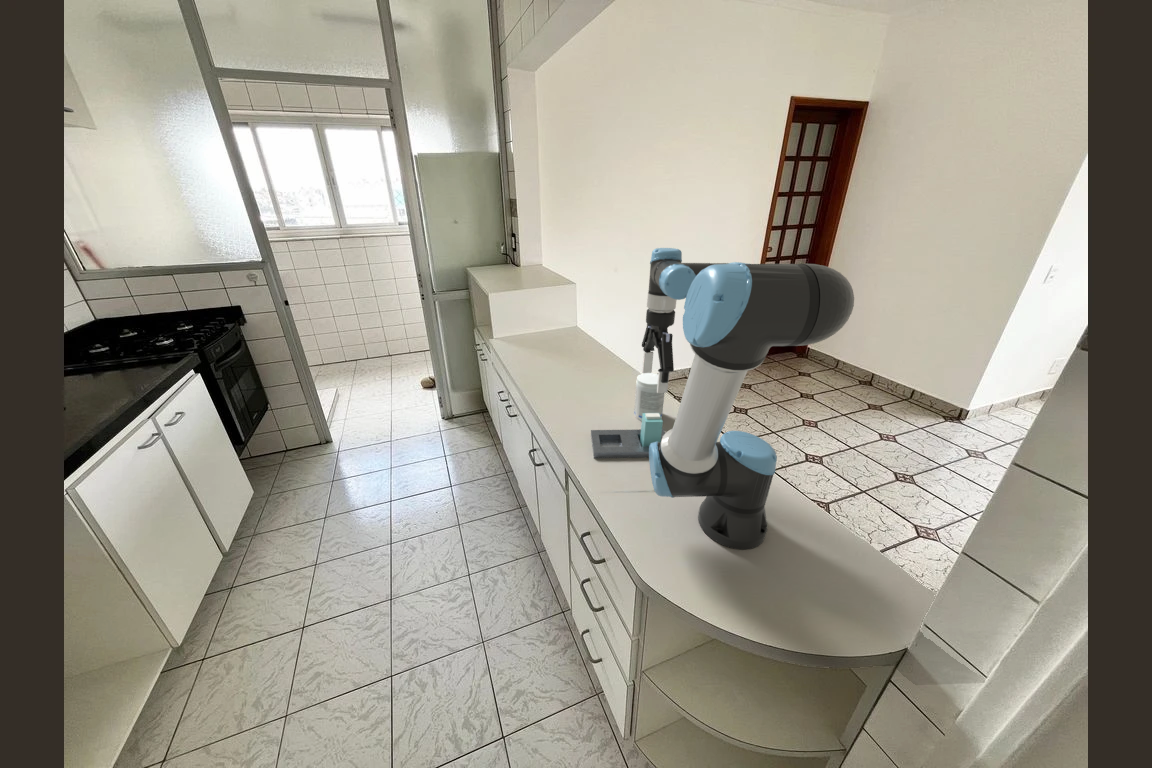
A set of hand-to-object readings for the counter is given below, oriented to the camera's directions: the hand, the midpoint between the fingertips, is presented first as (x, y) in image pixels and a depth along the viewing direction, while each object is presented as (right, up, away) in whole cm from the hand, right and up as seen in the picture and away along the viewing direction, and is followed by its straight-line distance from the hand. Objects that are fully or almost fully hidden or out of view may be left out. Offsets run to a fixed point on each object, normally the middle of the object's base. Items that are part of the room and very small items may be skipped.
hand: (653, 382), depth 118 cm
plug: (0, -19, +7) cm, 21 cm away
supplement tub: (+2, -12, +24) cm, 26 cm away
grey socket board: (-6, -20, +7) cm, 22 cm away
